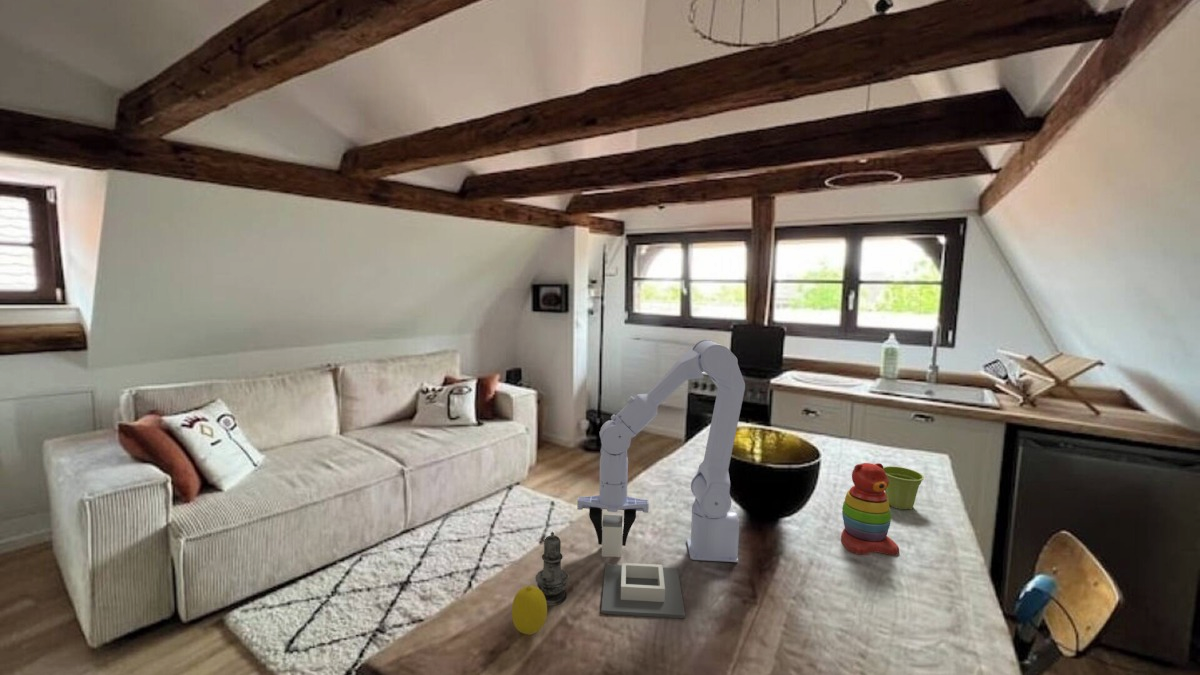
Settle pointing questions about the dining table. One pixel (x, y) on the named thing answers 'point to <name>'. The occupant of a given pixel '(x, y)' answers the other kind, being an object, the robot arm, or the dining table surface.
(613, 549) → the plug
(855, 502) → the stacking bear
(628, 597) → the socket base
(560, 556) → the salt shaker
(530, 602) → the lemon
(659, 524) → the dining table surface
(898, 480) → the plant pot
